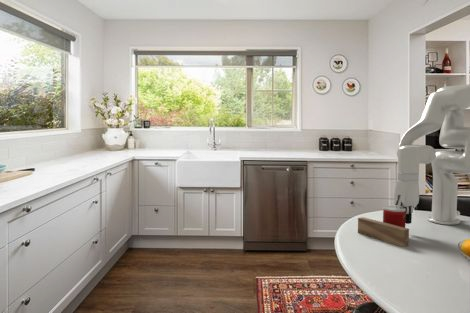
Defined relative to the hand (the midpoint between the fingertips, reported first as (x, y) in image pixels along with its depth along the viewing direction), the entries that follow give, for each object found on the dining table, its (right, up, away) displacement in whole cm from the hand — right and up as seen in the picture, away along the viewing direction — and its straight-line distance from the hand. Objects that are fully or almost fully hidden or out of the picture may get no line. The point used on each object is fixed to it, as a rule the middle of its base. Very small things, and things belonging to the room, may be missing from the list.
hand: (406, 222), depth 144 cm
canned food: (-7, -5, -4) cm, 9 cm away
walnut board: (-13, -5, -7) cm, 16 cm away
